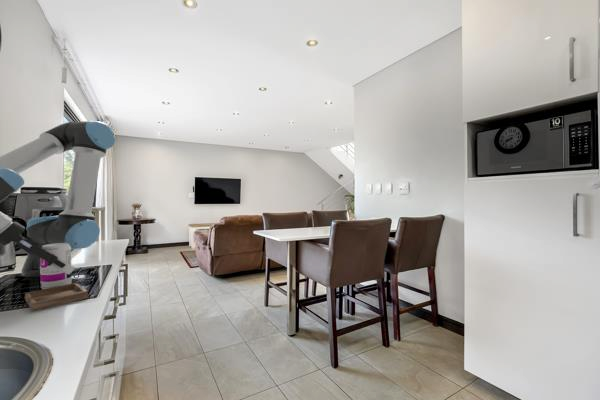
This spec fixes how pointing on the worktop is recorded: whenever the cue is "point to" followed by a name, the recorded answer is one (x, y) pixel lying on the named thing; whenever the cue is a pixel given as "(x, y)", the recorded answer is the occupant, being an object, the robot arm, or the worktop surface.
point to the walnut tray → (55, 296)
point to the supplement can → (51, 274)
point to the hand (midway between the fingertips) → (68, 268)
